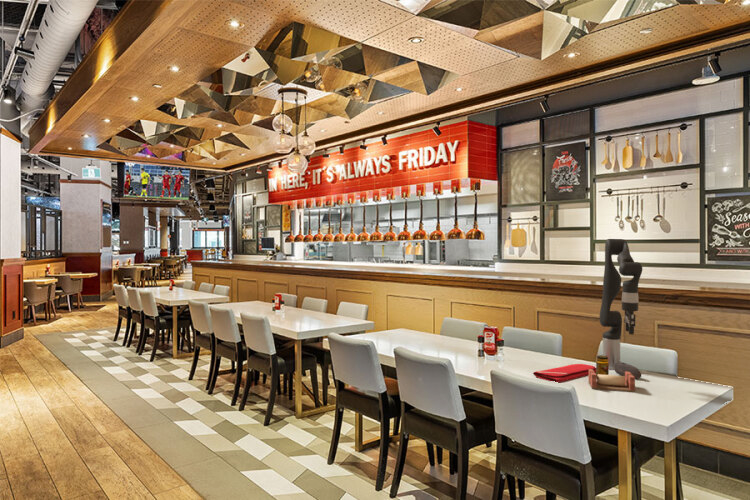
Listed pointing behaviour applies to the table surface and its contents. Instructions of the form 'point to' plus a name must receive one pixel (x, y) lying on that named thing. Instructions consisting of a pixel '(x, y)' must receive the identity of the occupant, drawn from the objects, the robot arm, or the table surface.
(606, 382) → the tan rounded cylinder
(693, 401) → the table surface
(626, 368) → the perforated stone tool
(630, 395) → the table surface
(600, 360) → the condiment
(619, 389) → the end holder
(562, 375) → the dish drying mat
